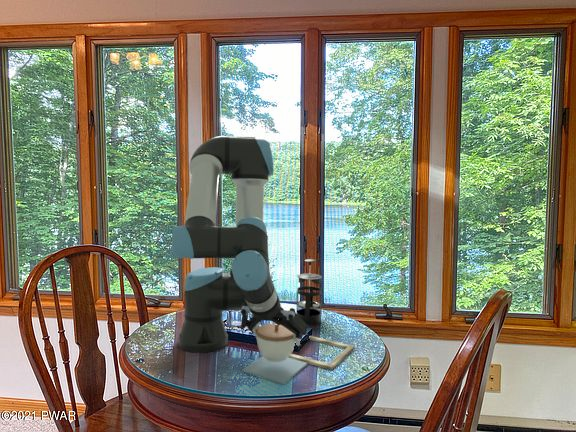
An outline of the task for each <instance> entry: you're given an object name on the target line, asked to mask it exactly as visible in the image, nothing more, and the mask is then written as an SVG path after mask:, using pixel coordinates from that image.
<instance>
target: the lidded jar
mask: <svg viewBox="0 0 576 432" xmlns="http://www.w3.org/2000/svg"><path fill="white" fill-rule="evenodd" d="M259 326H260V327H259V328H258V329H257V339H256V342H257V349H258V350H259V352H260V354H261V355H262V356H264V357H265V359H266V360H267V361H270V362H282V361H285V360H286V359H287V357H289V356H290V354H293V351H294V346H295V339H294V337H293V334H294V333H293V332H291V331H290V330H288V329H287V328H285V327H284V326H282V325H277V324H276V323H274V322H273V323H267V324H263V325H259Z"/></svg>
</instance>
